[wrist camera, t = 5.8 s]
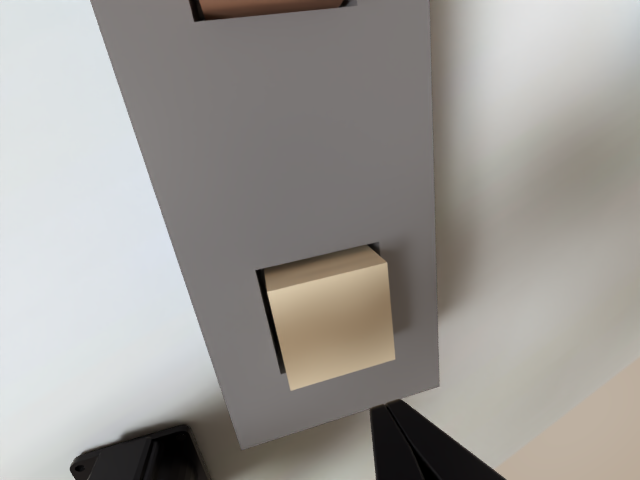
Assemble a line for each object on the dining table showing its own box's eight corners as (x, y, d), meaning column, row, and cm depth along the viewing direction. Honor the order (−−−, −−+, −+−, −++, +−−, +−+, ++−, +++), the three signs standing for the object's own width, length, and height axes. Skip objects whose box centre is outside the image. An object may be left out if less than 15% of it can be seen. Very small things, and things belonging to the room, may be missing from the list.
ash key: (361, 309, 17) (395, 359, 13) (279, 331, 16) (290, 390, 12) (351, 231, 15) (387, 262, 11) (261, 252, 14) (267, 291, 11)
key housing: (395, 330, 20) (439, 386, 16) (242, 373, 19) (241, 450, 14) (351, -212, 12) (418, -431, 7) (64, -219, 10) (-80, -506, 6)
